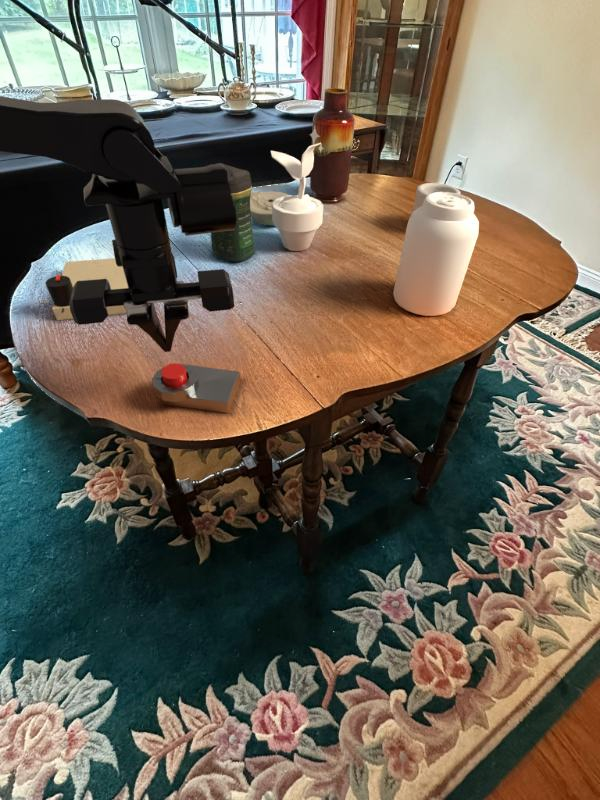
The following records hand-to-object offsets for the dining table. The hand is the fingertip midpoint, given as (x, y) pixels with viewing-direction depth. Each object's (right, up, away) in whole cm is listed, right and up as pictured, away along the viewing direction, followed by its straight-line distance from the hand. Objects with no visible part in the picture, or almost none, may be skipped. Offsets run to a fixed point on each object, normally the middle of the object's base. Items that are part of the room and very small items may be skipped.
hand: (167, 349), depth 59 cm
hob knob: (-25, +11, +20) cm, 34 cm away
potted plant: (+17, +30, +45) cm, 57 cm away
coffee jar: (+3, +27, +41) cm, 49 cm away
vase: (+26, +53, +68) cm, 90 cm away
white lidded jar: (+43, +13, +29) cm, 54 cm away
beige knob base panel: (-23, +14, +26) cm, 37 cm away
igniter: (+3, -6, +7) cm, 10 cm away
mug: (+53, +39, +55) cm, 85 cm away
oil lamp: (+8, +42, +56) cm, 71 cm away
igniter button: (0, -4, +4) cm, 6 cm away
